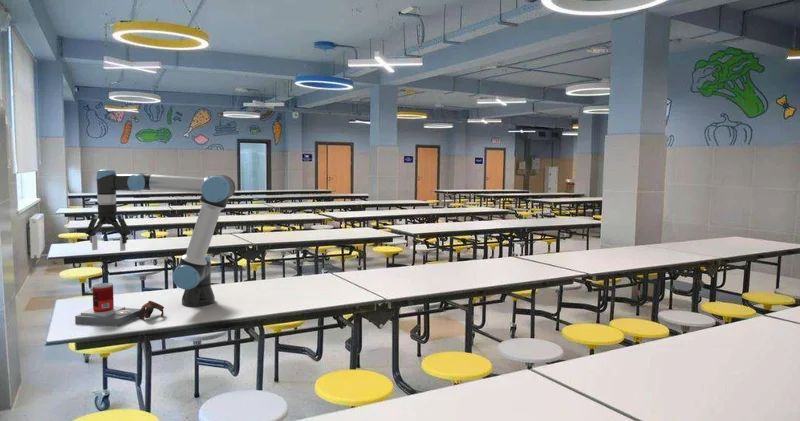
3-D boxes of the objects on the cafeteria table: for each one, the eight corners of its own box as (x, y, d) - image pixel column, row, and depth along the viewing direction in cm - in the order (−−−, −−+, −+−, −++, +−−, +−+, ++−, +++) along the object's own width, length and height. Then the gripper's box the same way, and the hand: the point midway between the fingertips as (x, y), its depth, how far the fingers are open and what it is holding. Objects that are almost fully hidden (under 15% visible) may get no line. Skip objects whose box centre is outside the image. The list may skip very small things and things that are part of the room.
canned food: (117, 307, 236) (116, 283, 235) (105, 312, 228) (105, 287, 227) (101, 306, 236) (100, 282, 235) (89, 311, 228) (88, 286, 227)
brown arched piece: (138, 316, 239) (148, 299, 241) (158, 325, 240) (168, 308, 243) (133, 316, 228) (143, 298, 230) (154, 325, 229) (164, 308, 231)
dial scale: (142, 315, 238) (142, 306, 238) (118, 326, 222) (118, 316, 222) (102, 312, 241) (101, 304, 241) (75, 323, 226) (75, 313, 225)
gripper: (138, 203, 244) (139, 249, 246) (87, 202, 247) (88, 248, 248) (128, 204, 237) (129, 252, 238) (75, 203, 239) (77, 250, 241)
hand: (108, 250), depth 243 cm, fingers open, 13 cm apart
